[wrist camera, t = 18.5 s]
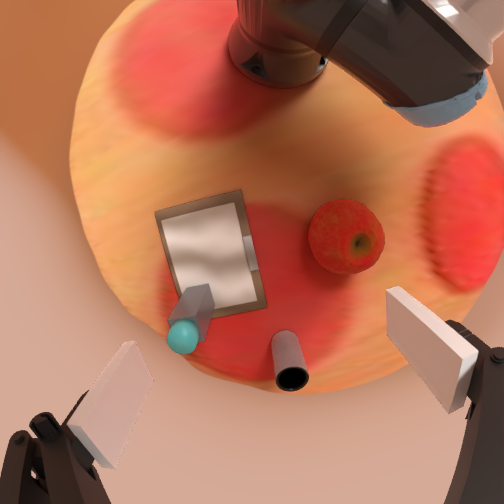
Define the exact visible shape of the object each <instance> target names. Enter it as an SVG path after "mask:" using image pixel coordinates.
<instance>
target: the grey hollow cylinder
mask: <svg viewBox="0 0 504 504" xmlns="http://www.w3.org/2000/svg"><path fill="white" fill-rule="evenodd" d="M271 347H272V356H273V364H274V372H275V381H276V384H277V386H278V387H279V388H280V389H282V390H284V391H296V390H299V389H301V388H303V387H304V386H305V385H306V384H307V382H308V380H309V374H308V371H307V367H306V364H305V360H304V357H303V353H302V350H301V346H300V343H299V339H298V337H297V335H296V334H295V333H294V332H292V331H289V330H283V331H280V332H278V333H276V334H275V335H274V336H273V338H272V340H271Z"/></svg>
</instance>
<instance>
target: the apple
mask: <svg viewBox="0 0 504 504" xmlns="http://www.w3.org/2000/svg"><path fill="white" fill-rule="evenodd" d="M308 241H309V245H310V249H311V251H312V253H313V255H314V257H315V259H316V260H317V262H318V263H319V264H320V265H321V266H322V267H323V268H324V269H326V270H328V271H329V272H332V273H335V274H342V275H349V274H355V273H359V272H361V271H364V270H366V269H368V268H370V267H371V266H373V265H374V264H375V263H376V261H377V260H378V259H379V257H380V255H381V253H382V251H383V248H384V244H385V236H384V232H383V229H382V226H381V224H380V222H379V221H378V220H377V218H376V217H375V215H374V214H373V213H372V212H371V211H370V210H369V209H368V208H367V207H366V206H365V205H364V204H362V203H360V202H357V201H352V200H347V199H340V200H335V201H331V202H328V203H327V204H325V205H323V206H321V207H320V208H319V210H318V211H317V212H316V213H315V214H314V216H313V218H312V221H311V224H310V227H309V233H308Z"/></svg>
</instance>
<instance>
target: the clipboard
mask: <svg viewBox="0 0 504 504" xmlns="http://www.w3.org/2000/svg"><path fill="white" fill-rule="evenodd" d="M155 216H156V220H157V224H158V228H159V231H160V235H161V239H162V242H163V246H164V250H165V253H166V257H167V260H168V264H169V267H170V270H171V274H172V277H173V280H174V283H175V287H176V290H177V293H178V296H179V299H180V297H181V296H182V294H183V292H184V291H185V289H186V288H187V287H192V286H197V285H202V284H207V283H209V286H210V289H211V293H212V296H213V300H214V303H215V307H214V310H213V314H212V317H211V318H216V317H221V316H227V315H232V314H237V313H242V312H247V311H252V310H257V309H262V308H267V302H266V298H265V293H264V289H263V285H262V280H261V276H260V271H259V267H258V263H257V258H256V254H255V249H254V245H253V241H252V236H251V232H250V227H249V223H248V219H247V214H246V210H245V206H244V201H243V197H242V192H241V190H238V191H234V192H229V193H225V194H221V195H217V196H213V197H209V198H205V199H201V200H197V201H193V202H189V203H185V204H181V205H178V206H174V207H170V208H166V209H163V210H159V211H156V212H155Z"/></svg>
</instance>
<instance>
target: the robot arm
mask: <svg viewBox="0 0 504 504" xmlns="http://www.w3.org/2000/svg"><path fill="white" fill-rule="evenodd" d="M237 8H238V17H237V19H236V20H235V22H234V23H233V25H232V27H231V29H230V32H229V37H228V46H229V52H230V56H231V59H232V61H233V63H234V64H235V66H236V67H237V68H238V70H239V71H240V72H241V73H242V74H244V75H245V76H246V77H248V78H249V79H251V80H253V81H254V82H257V83H259V84H262V85H265V86H269V87H274V88H292V87H297V86H301V85H304V84H306V83H309V82H310V81H312V80H314V79H315V78H316V77H317V76H318V75H320V73H321V72H322V71H323V70H324V68H325V66H326V65H327V63H328V61H331V62H332V63H334V64H335V65H337V66H338V67H339V68H341V69H342V70H344V71H345V72H347V73H348V74H349V75H351V76H352V77H353V78H355V79H356V80H357V81H359V82H360V83H361V84H363V85H364V86H365V87H367V88H368V89H369V90H370V91H372V92H373V93H374V94H375V95H377V96H378V97H379V98H380V99H381V100H382V102H383V103H384V104H385V105H386V106H388V107H389V108H391V109H394V110H395V111H396V112H398V113H399V114H400V115H401V116H402V117H404V118H405V119H406V120H407V121H408V122H410V123H412V124H414V125H417V126H422V127H437V126H441V125H444V124H447V123H450V122H452V121H454V120H456V119H458V118H460V117H461V116H463V115H465V114H466V113H467V112H469V111H470V110H471V109H472V108H473V107H474V106H475V105H476V104H477V103H476V100H478V99H481V98H482V97H483V96H484V94H485V92H486V90H487V85H488V79H487V76H486V72H485V70H484V69H486V68H487V67H488V66H490V65H491V64H492V63H493V54H492V44H493V41H494V40H495V39H496V38H497V37H499V36H500V35H501V34H502V33H503V32H504V0H237ZM386 311H387V336H388V337H389V338H390V340H391V341H392V342H393V343H394V345H395V346H396V347H397V348H398V350H399V351H400V352H401V353H402V355H403V356H404V357H405V358H406V360H407V361H408V362H409V363H410V365H411V366H412V367H413V368H414V370H415V371H416V372H417V373H418V375H419V376H420V377H421V379H422V380H423V381H424V382H425V384H426V385H427V386H428V388H429V389H430V390H431V392H432V393H433V394H434V396H435V397H436V398H437V400H438V401H439V402H440V404H441V405H442V406H443V408H444V409H445V410H446V411H447V413H448V414H450V413H452V412H454V411H456V410H457V409H459V408H461V407H463V406H464V403H465V400H466V397H467V396H468V397H469V398H470V400H471V401H472V402H471V405H470V407H469V410H468V413H467V416H466V418H465V419H468V420H467V425H466V430H465V435H464V439H463V444H462V448H461V452H460V455H459V459H458V463H457V466H456V470H455V473H454V476H453V479H452V482H451V485H450V488H449V491H448V494H447V497H446V499H445V502H444V504H504V348H503V347H495V348H492V349H491V348H490V347H489V346H488V345H486V344H485V343H484V342H483V341H482V340H480V339H479V338H478V337H476V336H475V335H474V334H472V332H470V331H469V330H467V329H466V328H465V327H464V326H463V325H461V324H460V323H458V322H455V321H453V320H448V321H445V322H444V321H443V320H441V319H440V318H439V317H438V316H436V315H435V314H434V313H433V312H432V311H430V310H429V309H428V308H426V307H425V306H424V305H423V304H421V303H420V302H419V301H418V300H416V299H415V298H414V297H412V296H411V295H410V294H409V293H407V292H406V291H405V290H403V289H402V288H401V287H399V286H396V287H392V288H389V289H386ZM153 382H154V379H153V377H152V375H151V373H150V371H149V369H148V367H147V365H146V362H145V360H144V358H143V356H142V354H141V352H140V349H139V347H138V345H137V342H136V340H135V341H126V342H123V344H122V345H121V346H120V348H119V349H118V351H117V352H116V353H115V355H114V356H113V358H112V359H111V360H110V362H109V363H108V364H107V366H106V367H105V369H104V370H103V371H102V373H101V374H100V376H99V377H98V378H97V380H96V381H95V383H94V384H93V386H92V387H91V388H90V390H88V391H87V392H85V393H84V394H83V395H82V396H81V397H80V399H79V400H78V401H77V404H76V405H75V406H74V407H73V410H71V412H70V413H69V415H68V416H67V418H66V419H65V421H64V422H63V423H62V425H61V426H60V425H59V423H58V422H57V421H56V419H55V418H54V416H53V415H52V414H51V413H49V412H43V413H40V414H38V415H36V416H35V417H34V418H33V419H32V420H31V422H30V424H29V427H30V428H31V430H32V431H33V432H34V433H35V435H36V436H37V437H38V438H32V437H31V435H30V434H29V433H28V432H27V431H25V430H21V431H17V432H16V433H14V434H13V435H12V437H11V438H10V440H9V444H8V448H7V451H6V455H5V459H4V463H3V468H2V472H1V477H0V504H111V502H110V500H109V498H108V496H107V494H106V491H105V489H104V488H103V485H102V482H101V480H100V478H99V475H98V473H97V470H96V469H95V467H94V466H93V465H92V463H93V461H94V459H95V460H96V461H97V462H98V463H99V464H100V466H101V467H104V468H110V469H116V468H117V466H118V463H119V461H120V458H121V456H122V453H123V451H124V449H125V446H126V444H127V442H128V439H129V437H130V434H131V432H132V430H133V427H134V425H135V423H136V420H137V418H138V416H139V413H140V411H141V409H142V407H143V404H144V402H145V400H146V398H147V395H148V393H149V391H150V389H151V386H152V384H153ZM31 470H32V471H33V472H34V473H35V474H36V479H35V478H33V477H32V476H31Z"/></svg>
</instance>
